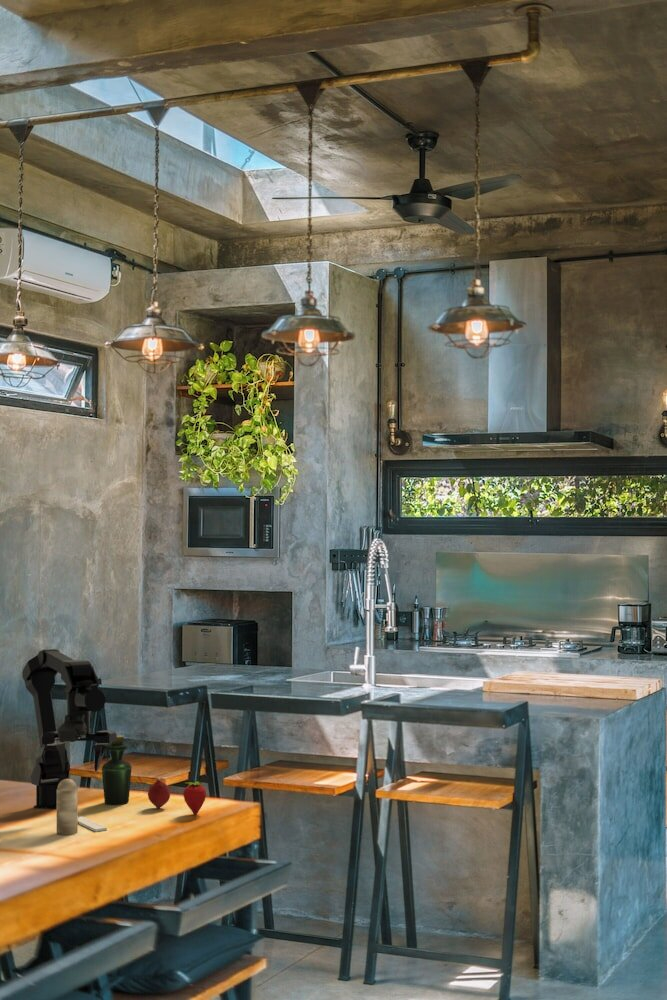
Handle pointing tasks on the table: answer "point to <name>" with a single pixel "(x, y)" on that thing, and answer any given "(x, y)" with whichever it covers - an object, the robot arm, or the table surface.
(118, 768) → the potion bottle
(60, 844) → the table surface
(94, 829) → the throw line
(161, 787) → the onion
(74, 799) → the skittle
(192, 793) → the strawberry
